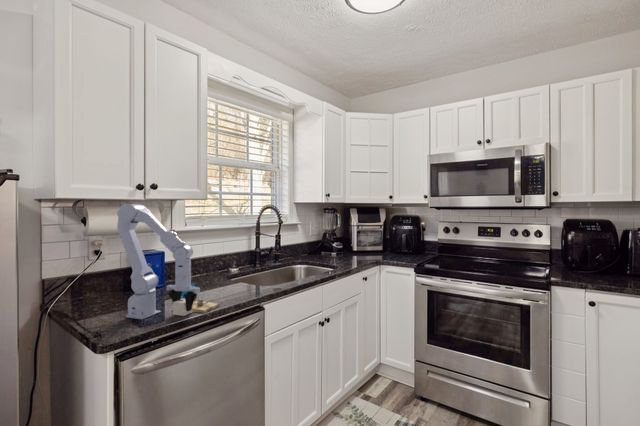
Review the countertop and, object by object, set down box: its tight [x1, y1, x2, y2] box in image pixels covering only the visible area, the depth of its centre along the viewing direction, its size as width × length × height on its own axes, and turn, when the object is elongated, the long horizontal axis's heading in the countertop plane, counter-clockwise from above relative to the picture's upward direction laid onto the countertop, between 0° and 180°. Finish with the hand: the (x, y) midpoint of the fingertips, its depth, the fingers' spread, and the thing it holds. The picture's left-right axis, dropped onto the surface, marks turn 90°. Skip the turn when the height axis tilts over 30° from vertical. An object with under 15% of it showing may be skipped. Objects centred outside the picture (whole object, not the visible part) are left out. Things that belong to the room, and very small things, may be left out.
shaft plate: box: [192, 298, 221, 314], centre depth 138 cm, size 10×12×4 cm
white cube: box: [172, 298, 193, 317], centre depth 130 cm, size 5×5×5 cm
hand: (183, 309), depth 130 cm, fingers closed on white cube, 5 cm apart
